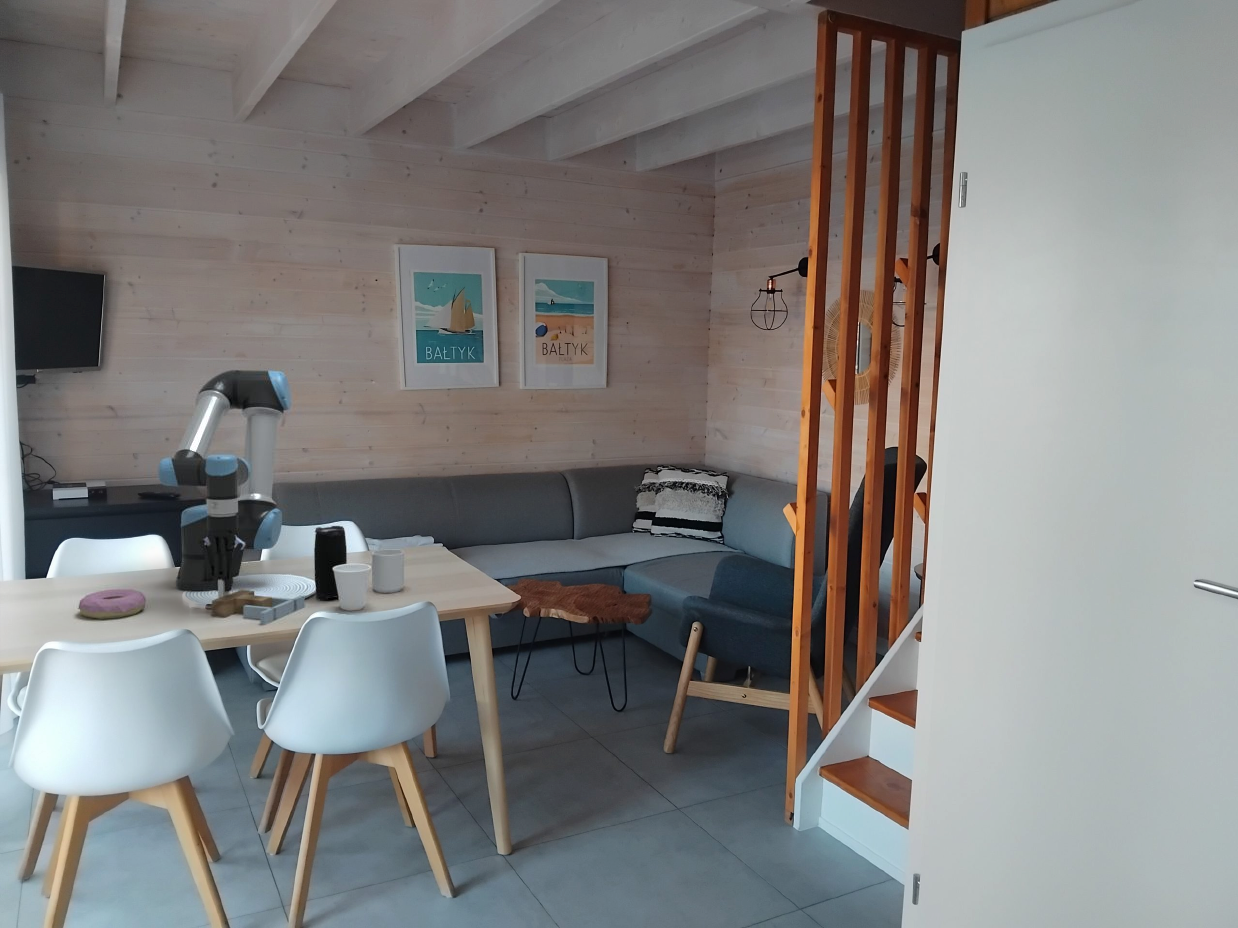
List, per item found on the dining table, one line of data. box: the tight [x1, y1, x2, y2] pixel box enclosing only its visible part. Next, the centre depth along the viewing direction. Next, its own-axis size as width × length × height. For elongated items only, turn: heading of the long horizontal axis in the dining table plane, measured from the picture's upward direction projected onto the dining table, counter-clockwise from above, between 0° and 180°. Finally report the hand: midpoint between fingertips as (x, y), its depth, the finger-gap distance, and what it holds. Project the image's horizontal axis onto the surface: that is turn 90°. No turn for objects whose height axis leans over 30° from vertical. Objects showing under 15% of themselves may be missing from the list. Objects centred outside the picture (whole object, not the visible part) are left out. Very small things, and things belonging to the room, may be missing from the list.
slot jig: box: [242, 595, 306, 626], centre depth 248 cm, size 9×18×3 cm, turn 166°
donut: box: [77, 588, 147, 620], centre depth 246 cm, size 16×15×5 cm
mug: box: [371, 548, 405, 594], centre depth 276 cm, size 12×9×11 cm
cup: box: [333, 563, 372, 612], centre depth 255 cm, size 10×10×11 cm
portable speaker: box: [313, 525, 348, 602], centre depth 265 cm, size 9×9×20 cm
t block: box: [211, 589, 273, 618], centre depth 249 cm, size 12×12×4 cm
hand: (224, 603), depth 251 cm, fingers closed
